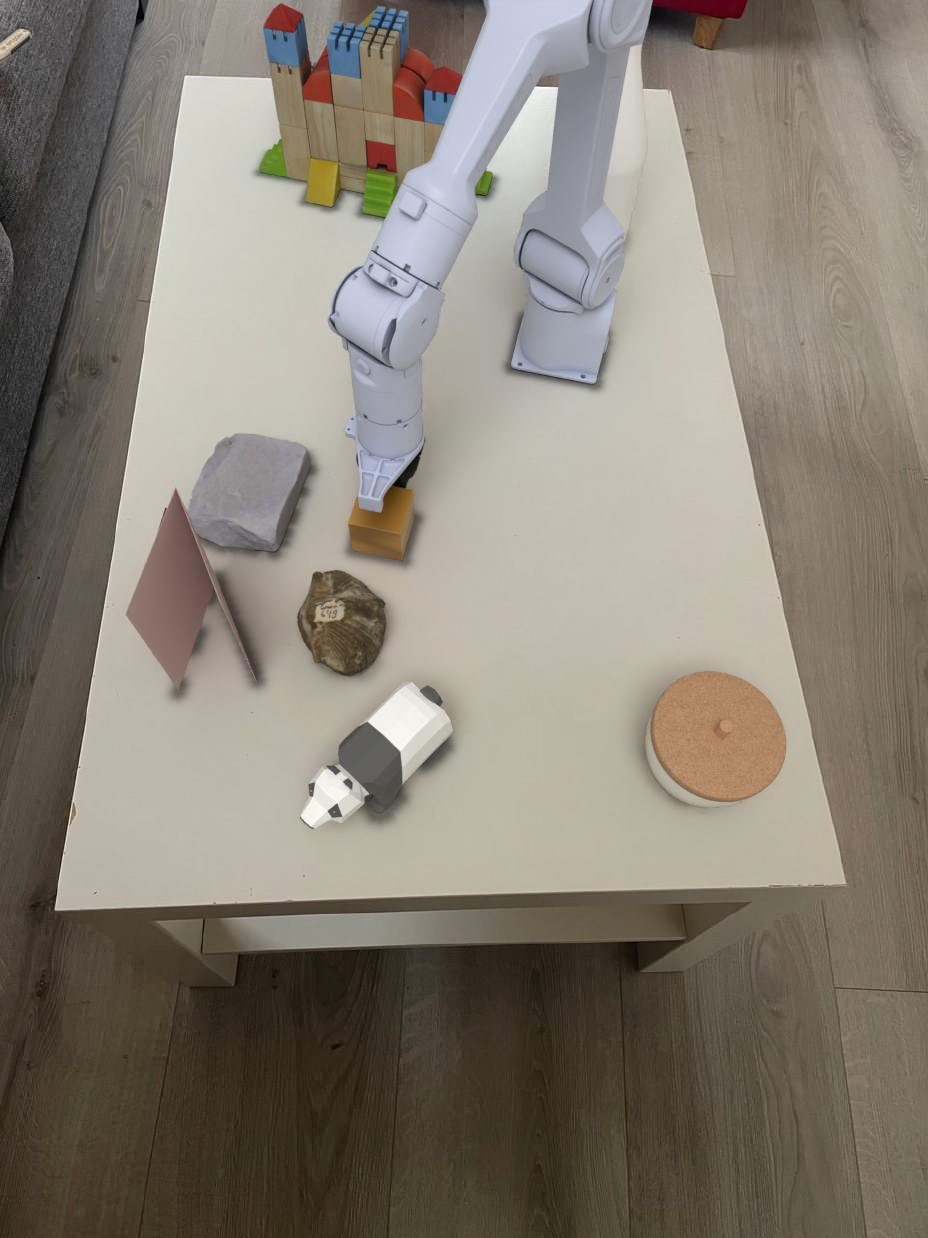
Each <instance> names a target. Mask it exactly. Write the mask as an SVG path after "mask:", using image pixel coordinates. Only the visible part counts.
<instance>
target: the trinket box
mask: <svg viewBox="0 0 928 1238" xmlns="http://www.w3.org/2000/svg"><path fill="white" fill-rule="evenodd" d="M644 736H645V737H644V750H645V757H646V762H647V765H648V767H649V769H650V771H651V773H652V775H653V777H654V778H655V780H656V781H657V783H658V784H659V785H660V786H661V787H662V788H663V789H664V790H665V791H666V792H667V793H668V794H670V796H672V797H674V798H675V799H677V800H678V801H680V802H682V803H684V804H686V805H689V806H693V807H696V808H697V807H698V808H703V809H721V808H727V807H731V806H734V805H737V804H740V803H742V802H745V801H746V800H748V799H751V798H752V797H755V796H756V795H758V794H760V793H761V792H763V791H764V790H765V789H767V788H768V787H769V786H771V784H772V783H773V782H774V781H775V780H776V778H777V777H778V776H779V773H780V772H781V771H782V768H783V765H784V763H785V760H786V754H787V736H786V731H785V727H784V724H783V721H782V718H781V716H780V714H779V711H778V710H777V709H776V707H775V706H774V704H773V703H772V701H770V699H769V698H768V697H767V696H766V695H765V694H764V693H763V692H762V691H761V690H760V689H758V688H757V687H756V686H755V685H753V684H752V683H750V682H748V681H747V680H745V679H743V678H741V677H739V676H736V675H733V674H730V673H727V672H721V671H714V670H713V671H708V670H707V671H699V672H698V671H697V672H694V673H690V674H686V675H685V676H683V677H681V678H678V679H677V680H676V681H674V682H673V683H672V684H670V685H669V686H668V687H667V688H666V689H665V690H664V691H663V693H662V694H661V695H660V697H659V699H658V700H657V701H656V704H655V706H654V709H653V711H652V712H651V715H650V717H649V719H648V722H647V725H646V730H645V735H644Z"/></svg>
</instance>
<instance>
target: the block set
mask: <svg viewBox="0 0 928 1238" xmlns="http://www.w3.org/2000/svg"><path fill="white" fill-rule="evenodd" d="M397 14H398V15H397ZM409 28H410V25H409V11H408V10H403V9H399V13H398V11H397V9H396V8H389V9H388V11H387V9H386V6H382V5H379V6H377V7H376V9H374V10H373V11H372V12H371V13H370V14H368V16H366V17H365V18H364V19H363V21H362V22H360V24H358V25H357V26H356V24H355V23H352V22H347V23H346V24H345V23H344V21H340V20H336V21H334V23H333V27H331V29H330V32H329V33H328V35H327V37H326V45H325V47H324V48H323V50H322V52H321V54H320V56H319V58H318V60H317V61H314V62H313V63H312V60H311V57H310V50H309V44H308V37H307V29H306V21H305V16H304V13H303V12H301V11H299V10H296V9H294V8H292V7H290V6H289V5H287V4H284V3H279V4H277V5H275V6H274V7H273V8H272V10H271V12H270V14H269V15H268V16H267V18H266V20H265V22H264V24H263V29H262V30H263V36H264V42H265V48H266V55H267V60H268V67H269V73H270V79H271V85H272V90H273V91H272V92H273V97H274V104H275V111H276V116H277V121H278V128H279V134H280V135H279V136H280V138H279V139H278V142H277V143H274V144H273V146H272V148H269V149H267V150H266V152H265V154H264V156H263V159H262V161H261V163H260V165H259V171H260V172H261V173H263V174H268V175H272V176H279V177H284V178H288V179H291V180H297V181H302V182H307V186H306V193H305V194H306V195H305V202H307V203H310V204H314V205H320V206H324V207H329V208H331V207H333V206H334V205H335V203H336V200H337V198H338V196H339V193H340V191H341V189H342V190H347V191H352V192H356V193H362V194H363V196H362V197H363V198H362V199H363V202H362V205H361V213H363V214H367V215H372V216H376V217H383V218H386V216H387V214H388V212H389V210H390V207H391V205H392V203H393V201H394V199H395V197H396V195H397V193H398V190H399V188H400V186H401V184H402V182H403V180H404V178H405V176H406V174H407V172H408V171H410V170H412V169H414V168H417V167H419V166H421V165H423V164H425V163H427V162H429V161H430V160H431V158H432V156H433V153H434V151H435V148H436V145H437V143H438V140H439V138H440V135H441V132H442V130H443V127H444V125H445V122H446V119H447V117H448V114H449V112H450V109H451V107H452V104H453V101H454V99H455V96H456V94H457V91H458V88H459V86H460V83H461V81H462V78H463V75H462V74H461V73H459V72H458V71H456V70H454V69H452V68H450V67H448V66H446V65H443V66H439V67H437V68H436V67H435V65H434V63H433V62H432V60H431V59H430V58H429V57H428V56H427V55H426V54H425V53H423V52H422V51H420V50H419V49H416V48H414V47H410V29H409ZM492 179H493V171H489V170H487V169H486V170H485V171H484V173H483V175H482V176H481V178H480V180H479V181H478V183H477V185H476V186H475V195H476V194H477V195H484V196H487V195H488V192H489V190H490V186H491V183H492Z"/></svg>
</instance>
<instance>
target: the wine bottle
mask: <svg viewBox="0 0 928 1238" xmlns="http://www.w3.org/2000/svg"><path fill="white" fill-rule="evenodd" d="M643 43H644V42H643ZM643 43H642V44H640V45H636V46H632V47H630V52H629V57H628V63H627V68H626V74H625V80H624V85H623V91H622V96H621V102H620V108H619V113H618V119H617V124H616V130H615V135H614V141H613V147H612V152H611V158H610V163H609V169H608V174H607V180H606V186H605V191H604V197H603V200H604V202H605V204H606V205H607V207H608V208H609V209H610V211H611V212H612V214H613V215H614V216H615V218H616V219H617V221H618V222H619V223H620V225H621V226H622V228H623V230H624V232H625V235H624V242H623V244H624V243H625V241H626V239H627V237H628V233H629V227H630V223H631V220H632V215H633V211H634V208H635V203H636V200H637V196H638V193H639V188H640V184H641V180H642V176H643V172H644V169H645V166H646V165H645V164H646V160H647V157H648V150H649V149H648V145H649V144H648V143H649V141H648V126H647V116H646V105H645V96H644V83H643V72H642V71H643V70H642V50H643V49H642V48H643Z"/></svg>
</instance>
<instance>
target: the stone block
mask: <svg viewBox="0 0 928 1238" xmlns="http://www.w3.org/2000/svg"><path fill="white" fill-rule="evenodd" d="M310 467H311V456H310V452H309V450H308V448H307V447H306V446H305V445H304V444H302V443H299V442H297V441H291V440H287V439H280V438H275V437H271V436H266V435H262V434H257V433H247V432H243V433H242V432H237V433H236V432H235V433H234V434H232V435H231V436H230V437H229V436H226V437H224V438H222V439H221V440H220V441H218V442H217V443H216V444H215V446H214V450H213V453H212V455H211V456H209V458H207V460H206V461H205V463H204V465H203V467H202V468H201V470H200V473H199V475H198V479H197V480H196V482H195V484H194V485H193V488H192V491H191V498H190V499H189V504H188V507H187V510H186V511H187V513H188V515H189V517H190V520H191V522H192V524H193V526H194V529H195V531H196V533H197V535H198V537H200V538H202V539H204V540H208V541H209V542H211V543H213V544H215V545H217V546H219V547H223V548H241V549H248V550H253V551H255V550H258V551H266V552H272V553H273V552H276V551H278V550H279V548H280V547H281V545H282V542H283V540H284V537H285V535H286V532H287V529H288V526H289V524H290V521H291V518H292V516H293V513H294V511H295V507H296V505H297V503H298V500H299V497H300V494H301V492H302V488H303V487H304V485H305V484H304V483H305V481H306V479H307V477H308V473H309V471H310Z"/></svg>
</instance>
